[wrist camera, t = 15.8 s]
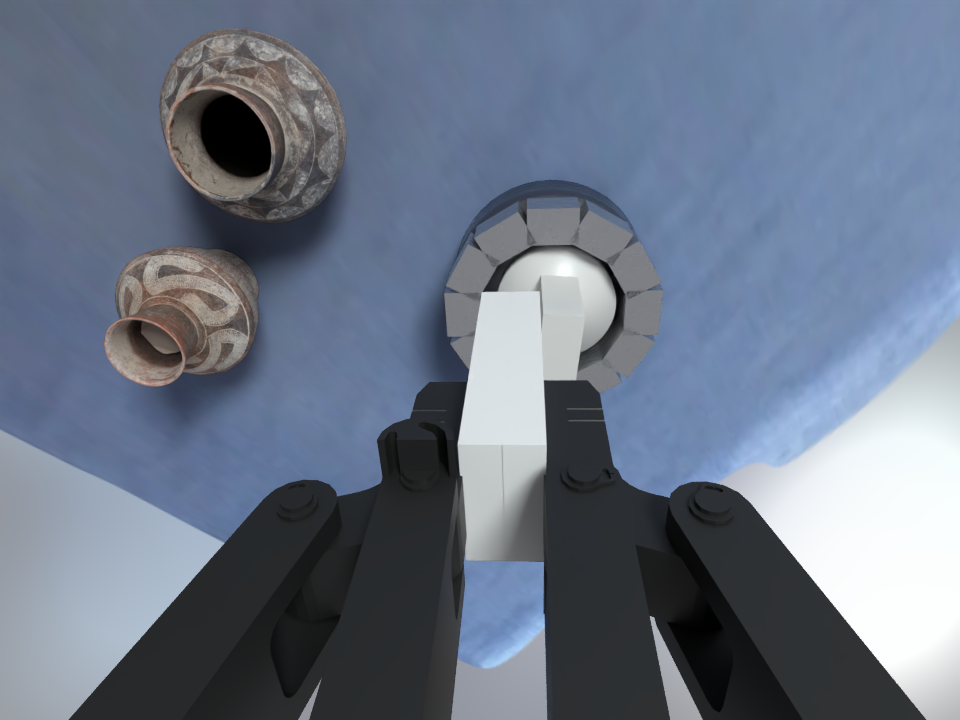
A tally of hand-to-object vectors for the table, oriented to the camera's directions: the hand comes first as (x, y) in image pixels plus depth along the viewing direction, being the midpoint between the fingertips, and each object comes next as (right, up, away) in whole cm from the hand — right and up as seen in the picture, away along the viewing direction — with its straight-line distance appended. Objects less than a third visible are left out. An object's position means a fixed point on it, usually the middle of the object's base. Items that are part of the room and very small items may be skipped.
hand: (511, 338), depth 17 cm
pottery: (-18, +11, +30) cm, 37 cm away
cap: (+4, +4, +27) cm, 27 cm away
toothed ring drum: (+4, +6, +31) cm, 32 cm away
